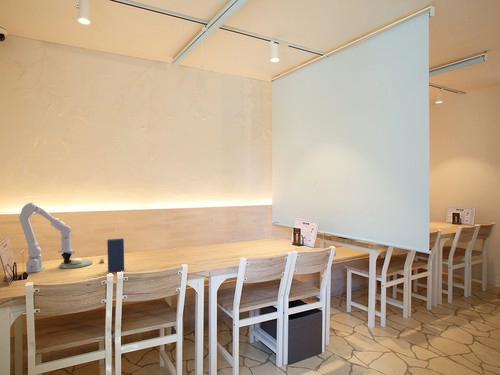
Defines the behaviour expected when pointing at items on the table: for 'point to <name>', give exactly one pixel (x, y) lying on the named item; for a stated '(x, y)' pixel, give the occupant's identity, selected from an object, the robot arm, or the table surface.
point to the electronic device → (115, 254)
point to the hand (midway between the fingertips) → (66, 263)
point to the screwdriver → (102, 260)
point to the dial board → (75, 265)
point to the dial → (75, 261)
